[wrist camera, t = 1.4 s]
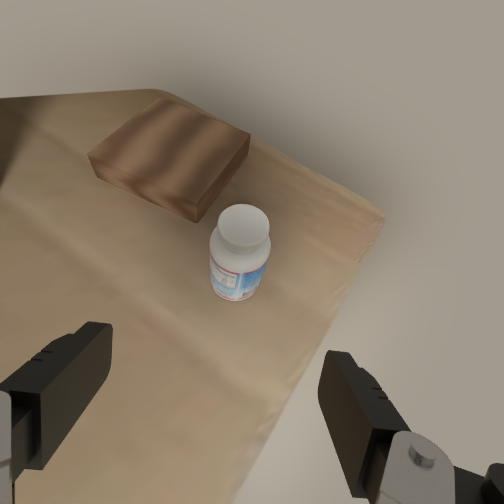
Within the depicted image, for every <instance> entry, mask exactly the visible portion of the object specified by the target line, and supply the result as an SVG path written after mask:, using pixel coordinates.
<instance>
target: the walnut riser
mask: <svg viewBox="0 0 504 504" xmlns="http://www.w3.org/2000/svg"><path fill="white" fill-rule="evenodd" d="M250 135H251V134H249V133H246V132H244V131H242V130H239V129H237V128H234V127H232V126H229V125H227V124H225V123H222V122H220V121H217V120H215V119H212V118H210V117H208V116H205V115H203V114H200V113H198V112H195V111H193V110H191V109H188V108H186V107H183V106H181V105H179V104H176V103H174V102H171V101H169V100H166V99H164V98H162V97H158V98H157V99H156V100H155V101H153V102H152V103H151V104H149V105H148V106H147V107H146V108H144V109H143V110H142V111H141V112H139V113H138V114H137V115H135V116H134V117H133V118H132V119H130V120H129V121H128V122H127V123H125V124H124V125H123V126H121V127H120V128H119V129H118V130H116V131H115V132H114V133H113V134H111V135H110V136H109V137H108V138H106V139H105V140H104V141H102V142H101V143H100V144H99V145H97V146H96V147H95V148H94V149H92V150H91V151H90V152H88V153H87V156H88V158H89V160H90V162H91V165H92V167H93V169H94V171H95V174H96V176H97V177H98V178H100V179H102V180H105V181H107V182H109V183H111V184H113V185H115V186H118V187H120V188H122V189H124V190H126V191H128V192H130V193H133V194H135V195H137V196H139V197H141V198H143V199H146V200H148V201H150V202H152V203H154V204H156V205H159V206H161V207H163V208H165V209H167V210H169V211H172V212H174V213H176V214H178V215H180V216H182V217H185V218H187V219H189V220H191V221H193V222H195V223H198V222H199V221H200V219H201V218H202V216H203V215H204V214H205V212H206V211H207V210H208V208H209V207H210V206H211V204H212V203H213V202H214V200H215V199H216V197H217V196H218V195H219V193H220V192H221V191H222V189H223V188H224V187H225V185H226V184H227V183H228V181H229V180H230V179H231V177H232V176H233V174H234V173H235V172H236V170H237V169H238V168H239V166H240V165H241V164H242V162H243V161H244V160H245V158H246V157H247V155H248V149H249V142H250Z"/></svg>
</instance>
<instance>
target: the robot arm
mask: <svg viewBox="0 0 504 504" xmlns="http://www.w3.org/2000/svg"><path fill="white" fill-rule="evenodd" d="M112 334H113V328H112V325H111V324H108V323H99V322H91V321H89V322H87V323H85V324H84V325H83V326H82V327H81V328H80V329H79V330H77V331H76V332H75V333H74V334H67V335H64V336H62V337H60V338H58V339H56V340H53V341H52V342H51V343H49V344H48V345H47V346H46V347H45V348H43V349H42V350H41V352H38V353H37V354H36V355H35V356H34V357H32V358H31V360H30V361H27V362H26V363H25V364H24V365H23V366H21V367H20V368H19V369H18V370H16V371H15V372H14V373H13V374H11V375H10V376H9V377H8V378H7V379H5V380H4V381H3V382H2V383H0V504H15V480H16V479H17V478H18V477H19V475H20V474H21V473H22V471H23V470H24V469H33V470H43V468H44V467H45V465H46V464H47V462H48V461H49V460H50V458H51V457H52V455H53V454H54V453H55V451H56V450H57V448H58V447H59V445H60V444H61V443H62V441H63V440H64V438H65V437H66V435H67V434H68V433H69V431H70V430H71V428H72V427H73V426H74V424H75V423H76V421H77V420H78V418H79V417H80V416H81V414H82V413H83V411H84V410H85V408H86V407H87V406H88V404H89V403H90V401H91V400H92V399H93V397H94V396H95V394H96V393H97V391H98V390H99V389H100V387H101V386H102V384H103V383H104V381H105V380H106V378H107V376H108V373H109V370H110V367H111V357H112ZM318 400H319V404H320V407H321V410H322V413H323V416H324V419H325V421H326V424H327V427H328V430H329V433H330V435H331V438H332V441H333V444H334V447H335V450H336V453H337V455H338V458H339V461H340V464H341V467H342V469H343V472H344V475H345V478H346V481H347V484H348V486H349V489H350V492H351V495H352V497H355V498H367V499H368V501H369V503H370V504H504V464H500V463H495V464H492V465H490V466H489V468H488V470H487V473H486V475H485V477H483V476H480V475H478V474H475V473H472V472H469V471H467V470H464V469H461V468H458V467H456V466H453V464H452V463H451V461H450V459H449V458H448V456H447V455H446V454H445V453H444V452H443V451H442V450H441V449H440V448H439V447H438V446H437V445H436V444H434V443H433V442H432V441H430V440H429V439H427V438H425V437H423V436H421V435H419V434H416V433H414V432H412V431H411V430H410V429H409V427H408V426H407V424H406V423H405V421H404V420H403V418H402V417H401V416H400V414H399V413H398V411H397V410H396V408H395V407H394V406H393V404H392V403H391V401H390V400H388V397H387V395H386V394H385V392H384V391H382V388H381V387H380V385H379V384H378V382H377V381H376V380H375V378H374V377H373V376H372V375H370V374H369V373H368V372H367V371H366V370H365V369H363V368H360V367H358V366H357V364H356V362H355V361H354V359H353V358H352V356H351V355H350V354H349V353H348V352H340V351H331V350H328V351H327V353H326V356H325V360H324V364H323V368H322V372H321V377H320V381H319V386H318Z"/></svg>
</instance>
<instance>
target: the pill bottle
mask: <svg viewBox="0 0 504 504" xmlns="http://www.w3.org/2000/svg"><path fill="white" fill-rule="evenodd" d="M269 228H270V225H269V221H268V218H267V216H266V215H265V214H264V213H263V212H262V211H261V210H260V209H258V208H256V207H254V206H252V205H247V204H236V205H232V206H230V207H228V208H226V209H225V210H224V211H223V212H222V213H221V214H220V216H219V219H218V224H217V227H216V228H215V229H214V230H213V232H212V234H211V237H210V244H209V257H210V259H209V260H210V282H211V285H212V287H213V289H214V291H215V292H216V293H217V294H218V295H219V296H220V297H222V298H224V299H227V300H231V301H240V300H244V299H246V298H248V297H250V296H251V295H252V294H253V293H254V292H255V291H256V290H257V288H258V286H259V283H260V280H261V277H262V274H263V271H264V269H265V266H266V263H267V260H268V257H269V254H270V250H271V242H270V238H269V235H268V233H269Z"/></svg>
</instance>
